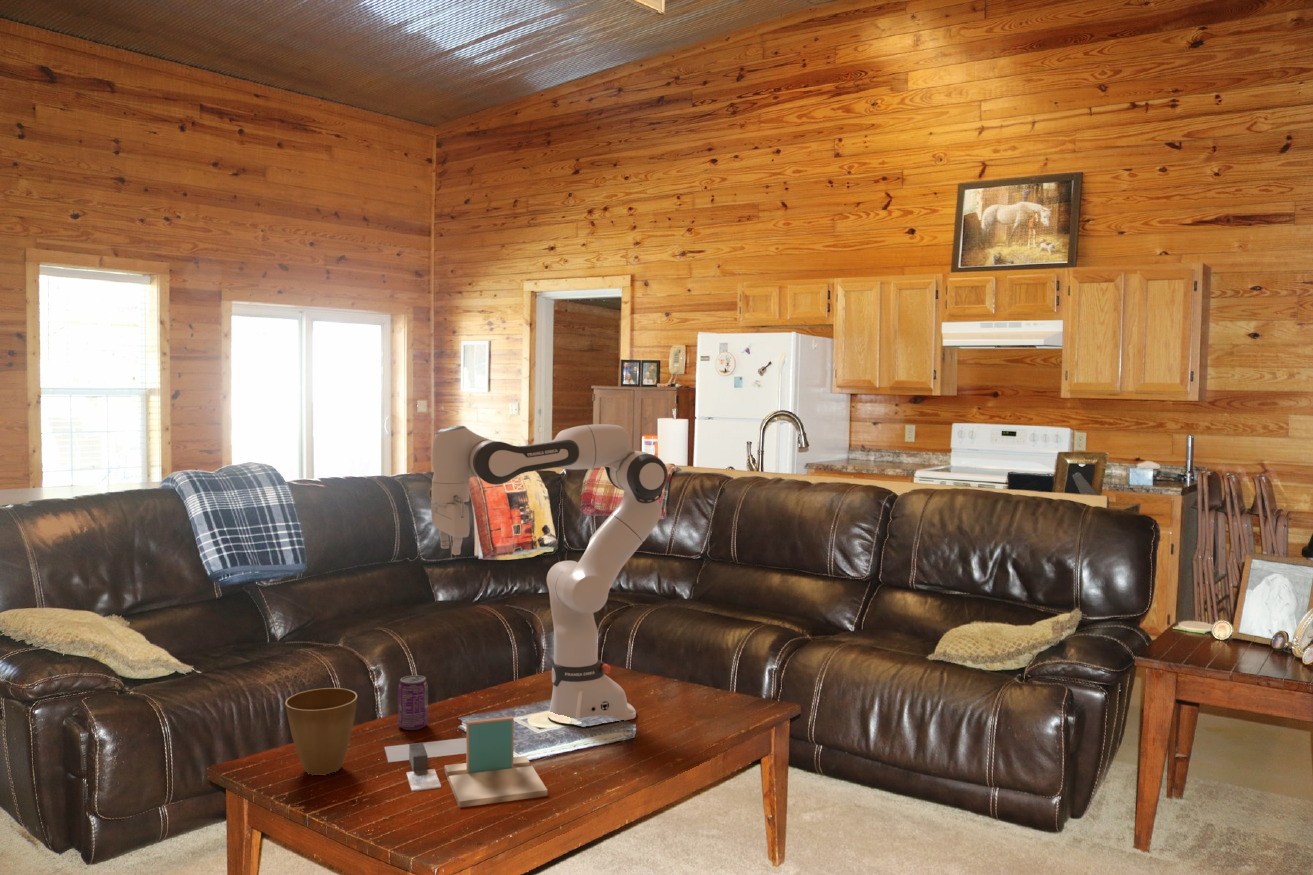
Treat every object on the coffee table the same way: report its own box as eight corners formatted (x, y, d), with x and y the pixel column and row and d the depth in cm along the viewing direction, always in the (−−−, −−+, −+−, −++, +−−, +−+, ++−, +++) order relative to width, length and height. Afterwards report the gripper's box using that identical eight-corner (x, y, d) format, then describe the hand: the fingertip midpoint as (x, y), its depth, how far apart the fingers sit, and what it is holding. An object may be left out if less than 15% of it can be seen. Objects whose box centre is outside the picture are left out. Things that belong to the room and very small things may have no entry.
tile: (512, 770, 221) (512, 716, 221) (513, 772, 220) (513, 718, 220) (466, 775, 218) (466, 721, 217) (467, 778, 217) (467, 723, 216)
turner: (402, 762, 227) (402, 745, 226) (429, 759, 229) (429, 741, 228) (411, 793, 210) (411, 774, 209) (441, 789, 212) (441, 771, 211)
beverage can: (418, 719, 255) (418, 672, 254) (433, 727, 250) (433, 679, 249) (392, 726, 250) (392, 678, 249) (408, 733, 245) (407, 684, 244)
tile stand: (525, 762, 227) (525, 755, 227) (547, 797, 208) (547, 789, 208) (444, 772, 221) (444, 765, 221) (459, 809, 202) (459, 801, 202)
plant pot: (301, 756, 229) (300, 687, 228) (366, 758, 229) (366, 688, 228) (274, 782, 214) (273, 708, 214) (344, 784, 214) (343, 709, 213)
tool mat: (479, 737, 242) (479, 736, 242) (487, 752, 233) (487, 750, 233) (384, 748, 235) (384, 746, 235) (388, 763, 225) (388, 762, 225)
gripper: (476, 498, 235) (476, 557, 235) (452, 489, 253) (451, 544, 254) (449, 499, 232) (449, 559, 232) (426, 490, 250) (426, 545, 251)
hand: (450, 551), depth 243 cm, fingers open, 8 cm apart
